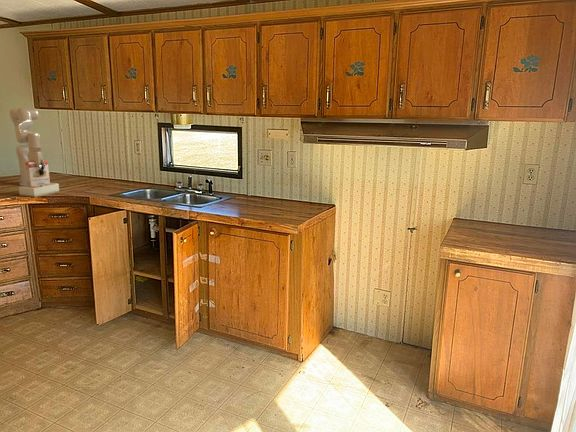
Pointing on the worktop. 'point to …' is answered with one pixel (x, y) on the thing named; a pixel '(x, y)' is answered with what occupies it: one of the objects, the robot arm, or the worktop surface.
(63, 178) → the worktop surface
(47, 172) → the cracker box
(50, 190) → the bin
